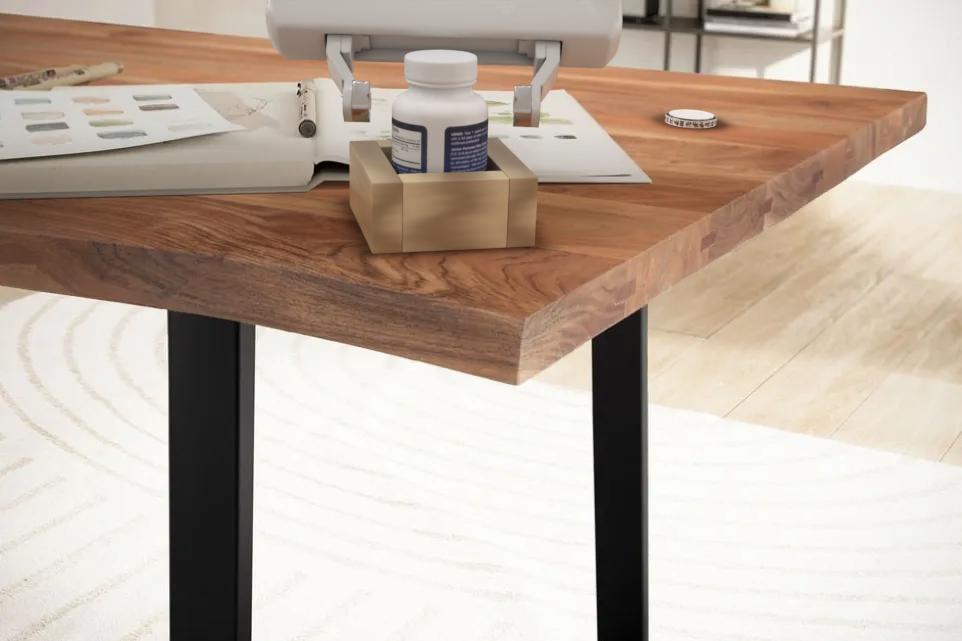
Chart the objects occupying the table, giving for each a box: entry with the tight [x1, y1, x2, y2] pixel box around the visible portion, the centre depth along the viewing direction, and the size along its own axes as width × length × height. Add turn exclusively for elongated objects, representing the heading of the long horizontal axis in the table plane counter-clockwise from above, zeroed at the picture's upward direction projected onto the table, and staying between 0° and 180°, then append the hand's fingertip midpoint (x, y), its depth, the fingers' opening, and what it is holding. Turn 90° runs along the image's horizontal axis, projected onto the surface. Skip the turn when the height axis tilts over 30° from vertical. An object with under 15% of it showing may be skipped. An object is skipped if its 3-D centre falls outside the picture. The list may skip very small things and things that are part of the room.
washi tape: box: [664, 108, 718, 129], centre depth 97 cm, size 4×4×1 cm
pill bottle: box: [391, 50, 489, 175], centre depth 69 cm, size 5×5×10 cm
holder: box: [348, 136, 539, 254], centre depth 70 cm, size 9×9×4 cm
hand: (441, 119), depth 68 cm, fingers open, 8 cm apart
